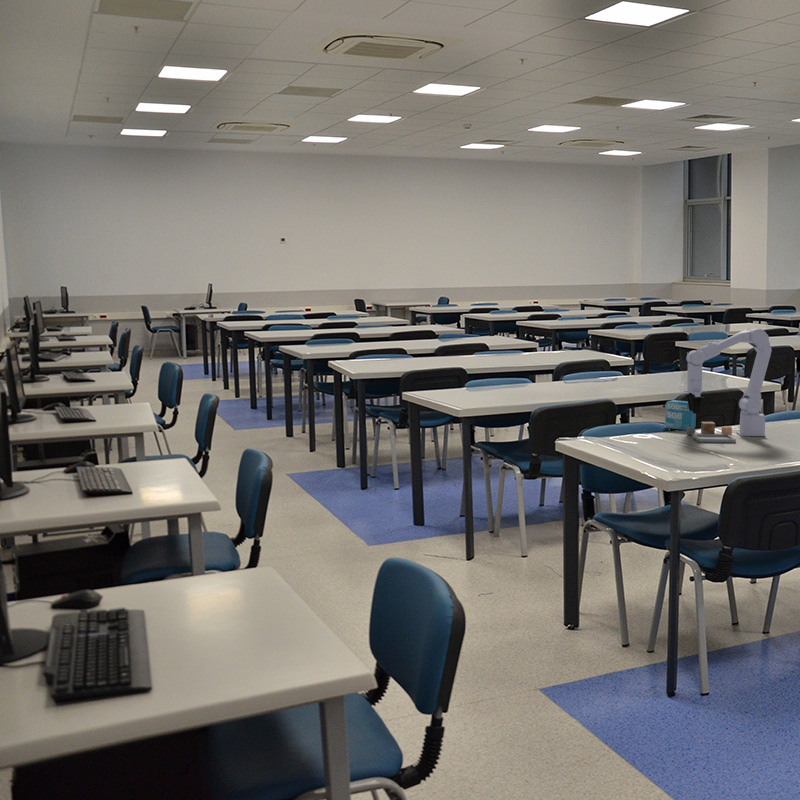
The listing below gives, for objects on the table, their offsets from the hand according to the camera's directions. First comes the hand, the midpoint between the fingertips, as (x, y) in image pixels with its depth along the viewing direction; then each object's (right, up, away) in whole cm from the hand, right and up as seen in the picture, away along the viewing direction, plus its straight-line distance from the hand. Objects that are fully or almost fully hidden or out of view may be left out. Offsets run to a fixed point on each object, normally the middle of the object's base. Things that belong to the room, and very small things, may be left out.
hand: (693, 412), depth 346 cm
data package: (0, -8, +17) cm, 18 cm away
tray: (+4, -11, -12) cm, 17 cm away
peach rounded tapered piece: (+12, -10, -4) cm, 16 cm away
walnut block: (+5, -10, -1) cm, 11 cm away
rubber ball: (-2, -10, 0) cm, 10 cm away
